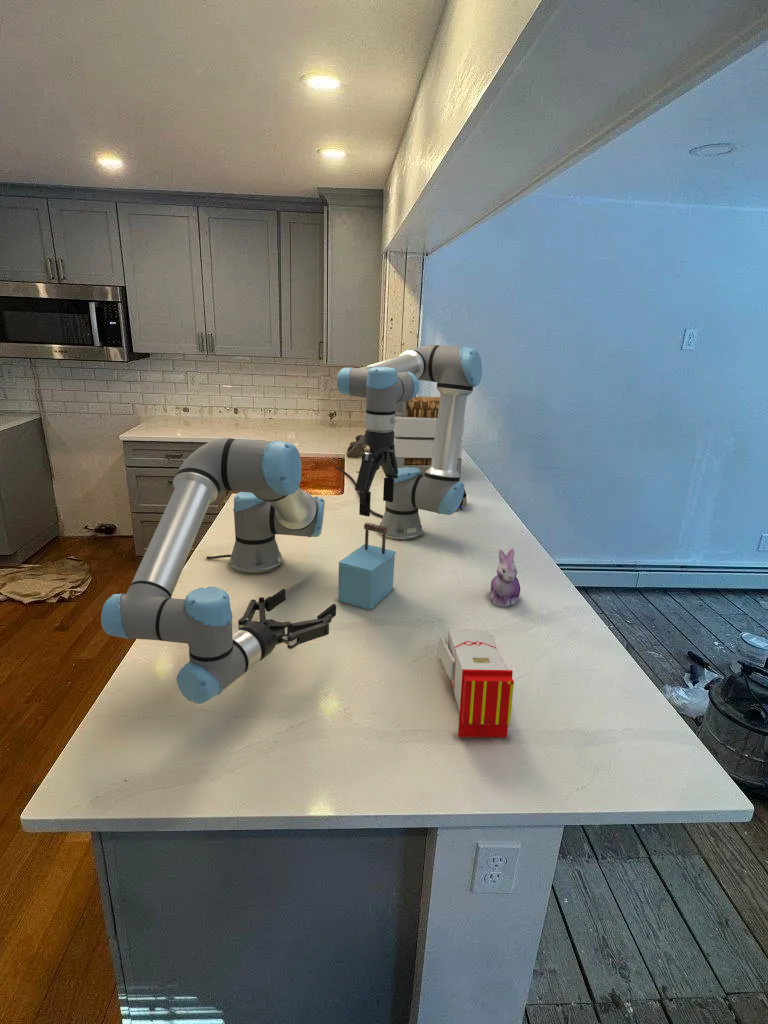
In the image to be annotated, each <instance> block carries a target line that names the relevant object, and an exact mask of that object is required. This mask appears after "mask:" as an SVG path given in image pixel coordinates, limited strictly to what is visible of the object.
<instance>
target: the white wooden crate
mask: <svg viewBox="0 0 768 1024" xmlns="http://www.w3.org/2000/svg"><path fill="white" fill-rule="evenodd" d="M439 402H440V396H417V395H416V396H415V397H414V398H412V399H410V400H408V401H406V402H399V403H396V409H395V419H396V422H395V428H394V429H393V431H394V445H395V456H396V462H397V467H398V468H405V466H406V467H409V466H411V467H417V466H418V467H431V460H432V453H433V446H434V438H435V431H436V424H437V416H438V409H439ZM464 429H465V419H464V421H463V428H462V435H461V441H460V448H459V455H458V462H457V469H456V470H457V472H458V473H459V475H460V476H461V472H462V461H463V460H462V453H463V442H464V441H463V440H462V439H463V438H464V431H465V430H464ZM459 481H461V479H460V480H459Z"/></svg>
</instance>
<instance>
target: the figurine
mask: <svg viewBox="0 0 768 1024" xmlns="http://www.w3.org/2000/svg"><path fill="white" fill-rule="evenodd" d="M514 558H515V548H514V547H512V548H511V549H509V551H508V553H507V555H506V554H505V551H503V549H501V548H499V549H498V565H497V568H496V574H497V575H495V576H494V577H493V578H492V579H491V582H490V591H489V599H490V600H491V601H492V602H493V604H494V605H495V606H497V607H503V608H507V607H510V606H514V605H516V603H518V601H519V597H520V594H521V584H520V581H519V579H518V577H517V576H518V569H517V567H516V564H515V561H514Z"/></svg>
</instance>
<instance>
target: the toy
mask: <svg viewBox="0 0 768 1024" xmlns="http://www.w3.org/2000/svg"><path fill="white" fill-rule="evenodd" d="M446 640H447V643H446V641H445V639H444V636H443V635H442V634H439V637H438V646H437V656H438V657H439V659H440V661H441V663H442V666H443V668H444V670H445V672H446V674H447V677H448V679H449V681H450V684H451V687H452V690H453V693H454V697H455V701H456V705H457V708H458V711H459V714H458V715H459V716H458V730H457V731H458V732H457V737H458V738H508V731H509V726H510V725H511V717H512V707H513V697H514V696H513V695H514V684H515V680H514V679H513V673H514V671H513V670H512V669H508V667H507V665H506V662H505V661H504V659H503V658H502V655H501V653H500V651H499V649H498V647H497V643H496V639H495V637H494V635H493V634H491V632H490V631H489V629H467V628H466V629H465V628H463V629H461V628H460V629H459V628H448V630H447V639H446Z"/></svg>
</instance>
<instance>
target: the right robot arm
mask: <svg viewBox="0 0 768 1024" xmlns="http://www.w3.org/2000/svg"><path fill="white" fill-rule="evenodd" d="M482 375H483V364H482V359H481V355H480V353H479V351H478V350H477V349H475V348H473V347H467V346H455V345H441V344H440V345H438V344H429V345H423V346H418V347H415V348H411V349H408V350H404V351H403V352H402V353H400V354H399V356H396V357H392V358H389V359H386V360H383V361H379V362H375V363H372V364H369V365H365V366H361V367H352V366H351V367H342V368H341V369H340V370H339V371H338V373H337V376H336V388H337V390H338V392H339V393H340V394H342V395H344V396H349V397H355V398H356V397H358V398H365V399H366V400H365V401H366V402H365V425H364V427H365V429H366V430H365V431H364V435H365V444H366V445H368V447H369V449H368V452H363V451H362V456H361V463H360V467H359V471H358V475H357V479H356V481H355V479H354V478H353V477H352V476H351V475H350V474H348V473H347V472H346V471H344V470H343V469H342V468H340V467H338V466H336V465H335V466H333V467H334V469H336V470H337V471H339V472H341V473H342V474H344V475H346V476H347V477H348V478H349V479H350V480H351V482H352V483H353V484H354V491H356V492H357V494H358V497H359V512H358V513H359V514H358V515H359V516H364V517H370V516H371V514H372V515H375V516H376V517H379V518H381V522H379V525H381V526H385V527H387V528H388V531H387V533H386V539H389V540H395V541H410V540H415V539H418V538H420V537H421V536H422V535H423V525H422V524H421V518H420V515H419V510H421V511H426V512H429V513H436V514H438V515H445V516H451V515H453V514H454V513H456V512H457V510H458V509H459V508H460V507H459V506H460V504H461V501H462V498H463V495H464V489H465V484H464V482H462V481H461V474H460V475H459V473H458V472H457V470H456V469H457V462H458V455H459V448H460V441H461V440H462V438H461V435H462V428H463V421H464V420H465V413H466V406H467V401H468V397H469V396H470V395H471V394H472V393H473V391H474V388H475V387H478V386H479V385H480V383H481V380H482ZM419 381H425V382H432V383H436V389H437V391H438V392H439V393H440V395H439V397H440V402H439V409H438V416H437V424H436V431H435V438H434V446H433V453H432V460H431V465H430V466H429V468H427V469H426V470H425V471H424V474H422V470H421V468H419V467H414V466H411V467H409V466H406V467H405V466H404V468H398V467H397V462H396V456H395V445H394V431H393V429H394V428H395V422H396V419H395V409H396V403H399V402H406V401H408V400H410V399H412V398H414V397H417V395H418V394H419V391H420V382H419ZM464 422H465V421H464ZM380 468H381V469H382V471H383V473H384V475H385V477H383V492H382V493H383V495H382V500H383V502H385V504H384V505H385V507H384V508H385V509H384V513H383V515H382V514H381V513H378V512H376V511H374V510H373V509H371V498H372V497H371V496H372V492H371V491H370V490H371V486H372V484H373V481H374V479H375V476H376V474H377V472H378V470H379V469H380ZM459 480H460V481H459ZM458 507H459V508H458ZM379 534H380V535H381V536H383V533H379Z"/></svg>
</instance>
